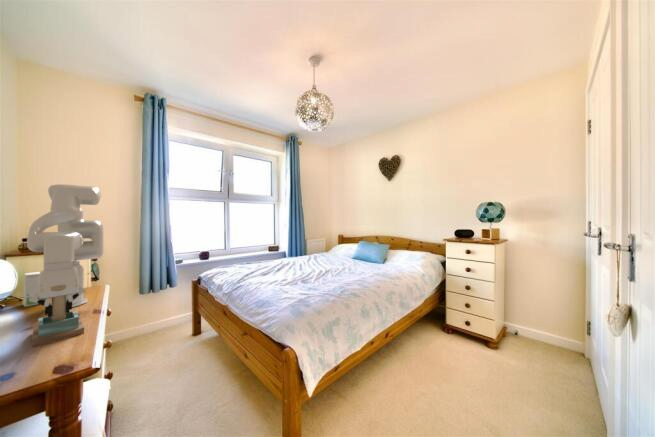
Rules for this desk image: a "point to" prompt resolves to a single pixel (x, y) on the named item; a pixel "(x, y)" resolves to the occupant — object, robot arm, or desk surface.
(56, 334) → the teal open box
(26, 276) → the skincare box
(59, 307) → the handle
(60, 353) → the desk surface
